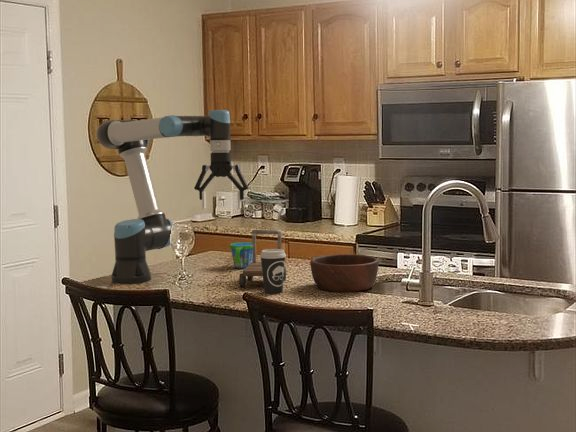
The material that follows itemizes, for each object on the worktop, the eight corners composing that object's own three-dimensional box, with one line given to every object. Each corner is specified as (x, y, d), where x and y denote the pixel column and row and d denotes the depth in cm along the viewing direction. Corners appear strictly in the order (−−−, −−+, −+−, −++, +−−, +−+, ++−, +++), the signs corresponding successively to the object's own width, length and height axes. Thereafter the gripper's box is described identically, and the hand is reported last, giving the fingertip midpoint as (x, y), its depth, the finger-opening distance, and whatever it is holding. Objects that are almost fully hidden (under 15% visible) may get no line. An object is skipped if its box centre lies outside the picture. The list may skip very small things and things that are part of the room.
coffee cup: (288, 289, 279) (287, 248, 278) (285, 295, 270) (284, 252, 268) (262, 289, 280) (261, 248, 279) (258, 294, 271) (257, 252, 269)
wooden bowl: (343, 278, 300) (343, 251, 299) (392, 286, 282) (392, 259, 281) (296, 287, 284) (296, 259, 282) (346, 297, 265) (345, 267, 264)
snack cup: (247, 271, 317) (246, 247, 316) (224, 270, 321) (223, 246, 320) (261, 265, 332) (261, 241, 330) (239, 264, 335) (238, 240, 334)
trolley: (278, 288, 281) (277, 236, 279) (239, 288, 283) (238, 236, 281) (286, 278, 300) (285, 229, 297) (249, 278, 302) (248, 229, 300)
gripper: (185, 152, 284) (186, 209, 287) (251, 151, 281) (252, 209, 283) (190, 151, 292) (192, 207, 294) (255, 151, 288) (256, 207, 290)
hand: (221, 208), depth 289 cm, fingers open, 13 cm apart
